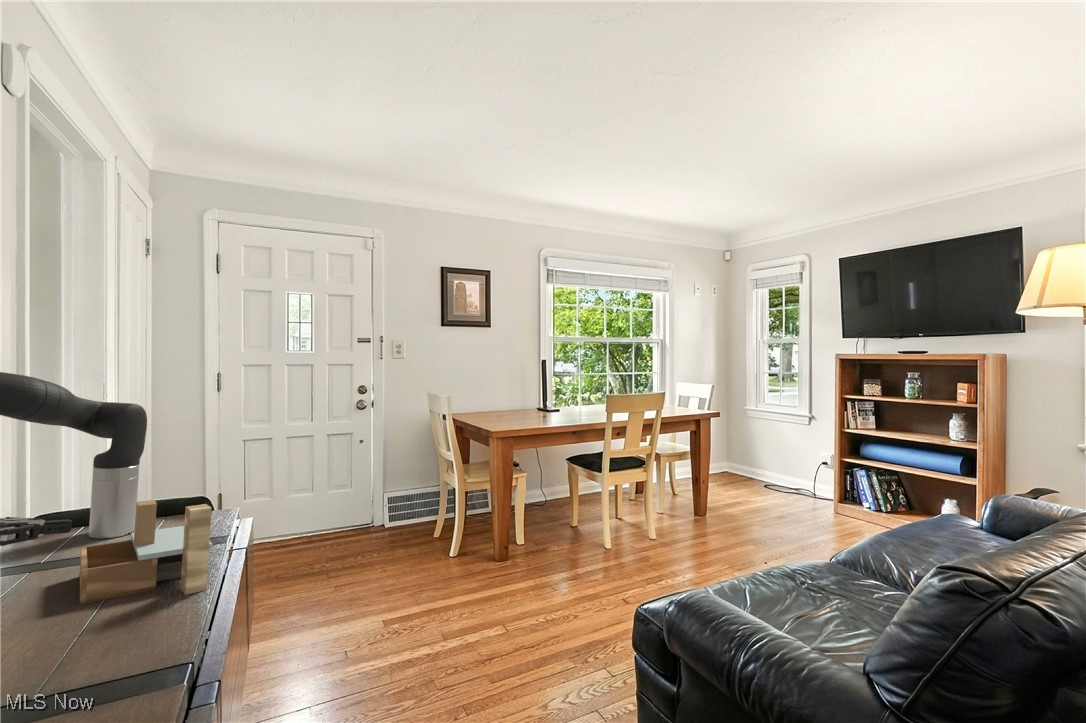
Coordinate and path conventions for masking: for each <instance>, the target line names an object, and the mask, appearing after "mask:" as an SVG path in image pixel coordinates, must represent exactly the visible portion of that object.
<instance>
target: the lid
mask: <svg viewBox="0 0 1086 723" xmlns="http://www.w3.org/2000/svg"><path fill="white" fill-rule="evenodd" d="M157 507H158V503H157V502H156V500H155V499H149V500H140V501H138V500H137V502H136V516H135V531H134V532H132V533H130V534H131V535H130V540H132V542H133V546H134V549H135V552H136V555H137V558H138V561H140V560H147V559H153V558H159V557H165V556H171V555H177V554H183V540H184V525H181V526H175V527H174V526H172V527H167V528H166V527H165V528H157V529H156V524H157V509H158V508H157ZM209 550H213V543H212V541H211V540H210V542H209Z"/></svg>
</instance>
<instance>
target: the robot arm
mask: <svg viewBox="0 0 1086 723" xmlns="http://www.w3.org/2000/svg"><path fill="white" fill-rule="evenodd" d="M147 415H148V414H147V412H146V410H145V408H144V407H143V406H142V405H140V404H137V403H128V402H109V401H98V400H92V399H87V398H82V397H79V396H76V395H75V394H74V393H72V392H71V391H70V390H69V389H67V388H66V387H63V386H62V385H60V384H57V383H54V382H52V381H47V380H44V379H40V378H37V377H33V376H28V375H23V374H16V373H11V372H5V371H4V372H1V371H0V416H2V417H6V418H11V419H14V420H20V421H24V422H27V423H34V424H39V425H48V426H59V427H68V428H70V429H74V430H77V431H80V432H83V433H86V434H87V435H88V434H89V435H92V436H94V437H97V438H102V439H111V443H110V447H109V449H107V450H106V451H104V452H100V453H98V454H96V455H94V457H93V464H92V477H91V478H92V482H91V493H90V494H91V495H90V496H91V497H90V511H89V512H90V513H89V526H88V537H89V538H92V539H111V538H118V537H122V536H126V534H127V535H129V534H128V533H130V534H131V532H132V533H134V532H135V516H136V502H138V498H139V496H138V495H139V494H138V493H139V478H140V477H139V475H140V462H141V458H142V455H143V453H144V450H145V444H146V435H147V428H148V427H147V426H148V416H147ZM72 526H73V520H71V519H69V518H68V519H57V520H56V519H54V520H45V519H41V518H39V517H17V516H16V517H12V516H11V517H10V516H6V517H0V546H1V547H5V546H8V545H13V544H17V543H18V544H19V543H22V542H28V541H33V540H36V539H39V538H40V537H43V536H45V535H55V534H59V535H60V534H68V533H70V532H71V531H72ZM133 531H134V532H133Z"/></svg>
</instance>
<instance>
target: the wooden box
mask: <svg viewBox="0 0 1086 723" xmlns="http://www.w3.org/2000/svg"><path fill="white" fill-rule="evenodd" d="M182 556H183V554H177V555H171V556H165V557H159V558H153V559H147V560H140V561H138V558H137V555H136V552H135V549H134V546H133V542H132V539H128V540H127V539H126V540H120V541H113V542H111V541H110V542H105V543H98V544H90V545H85V546H81V547H80V561H79V574H78V576H79V577H78V579H79V581H78V582H79V587H78V588H79V605H85V604H88V603H89V604H90V603H95V602H99V601H104V600H105V601H106V600H110V599H115V598H120V597H124V596H130V595H136V594H140V593H146V592H152V591H156V590H157V589H156V588H157V582H163V581H166V580H173V579H178V578H181V573H182Z"/></svg>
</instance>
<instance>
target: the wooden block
mask: <svg viewBox="0 0 1086 723" xmlns="http://www.w3.org/2000/svg"><path fill="white" fill-rule="evenodd" d="M212 509H213V508H212V507H211V506H210V505H208V504H207V503H204V504H203V503H202V504H198V505H197V504H196V505H188V506H185V509H184V510H185V511H184V523H183V524H184V525H183V526H184V540H183V556H182V573H181V577H180V591H182V593H184V595H186V596H187V595H191V594H194V593H195V594H196V593H199V592H203V591H207V589H208V572H209V558H210V557H209V556H210V554H209V553H210V549H209V542H210V541H211V540H210V539H211V538H210V537H211V525H212V524H211V523H212V522H211V520H212Z"/></svg>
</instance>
